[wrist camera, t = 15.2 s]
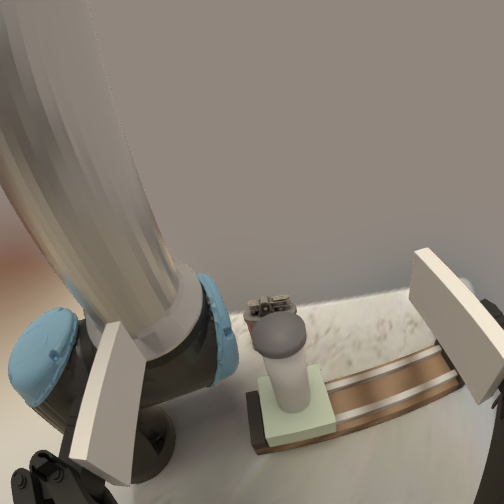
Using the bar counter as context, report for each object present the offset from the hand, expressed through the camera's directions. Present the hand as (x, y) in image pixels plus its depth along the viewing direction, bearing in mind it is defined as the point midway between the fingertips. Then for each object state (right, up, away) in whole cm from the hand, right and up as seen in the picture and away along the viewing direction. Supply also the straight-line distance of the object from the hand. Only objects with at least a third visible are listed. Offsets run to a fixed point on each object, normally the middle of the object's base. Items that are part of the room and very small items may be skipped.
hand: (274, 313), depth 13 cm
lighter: (+3, -13, +37) cm, 39 cm away
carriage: (+5, -17, +22) cm, 28 cm away
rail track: (+14, -18, +23) cm, 33 cm away
